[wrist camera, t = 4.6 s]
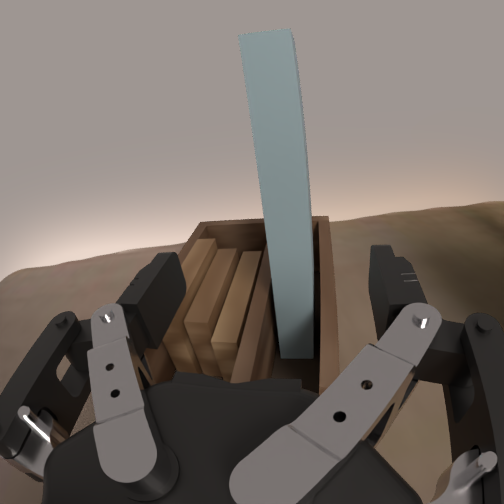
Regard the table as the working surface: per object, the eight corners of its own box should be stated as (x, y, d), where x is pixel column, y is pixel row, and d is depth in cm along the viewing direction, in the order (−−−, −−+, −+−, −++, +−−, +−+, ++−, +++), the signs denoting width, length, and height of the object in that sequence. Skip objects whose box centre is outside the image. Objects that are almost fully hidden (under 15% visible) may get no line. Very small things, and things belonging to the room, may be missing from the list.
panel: (280, 358, 28) (238, 34, 15) (286, 315, 33) (254, 45, 20) (313, 358, 27) (290, 28, 14) (314, 314, 32) (294, 40, 19)
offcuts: (178, 381, 27) (149, 319, 23) (213, 295, 38) (199, 236, 34) (247, 388, 25) (231, 323, 21) (267, 295, 36) (259, 234, 32)
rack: (143, 415, 23) (108, 366, 20) (211, 268, 43) (200, 222, 39) (331, 435, 20) (339, 386, 17) (329, 265, 40) (328, 215, 36)
